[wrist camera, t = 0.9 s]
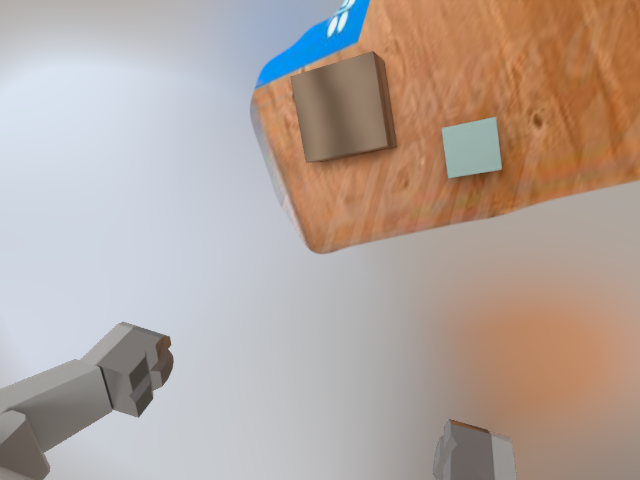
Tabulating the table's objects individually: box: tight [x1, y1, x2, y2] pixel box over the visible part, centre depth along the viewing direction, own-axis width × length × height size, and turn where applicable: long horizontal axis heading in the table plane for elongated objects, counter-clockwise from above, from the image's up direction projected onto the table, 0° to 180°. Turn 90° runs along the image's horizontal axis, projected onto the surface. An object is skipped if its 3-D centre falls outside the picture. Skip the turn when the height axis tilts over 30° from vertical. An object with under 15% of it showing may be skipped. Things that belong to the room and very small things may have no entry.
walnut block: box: [291, 51, 397, 163], centre depth 48 cm, size 10×10×5 cm
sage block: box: [441, 117, 502, 178], centre depth 43 cm, size 5×5×7 cm
